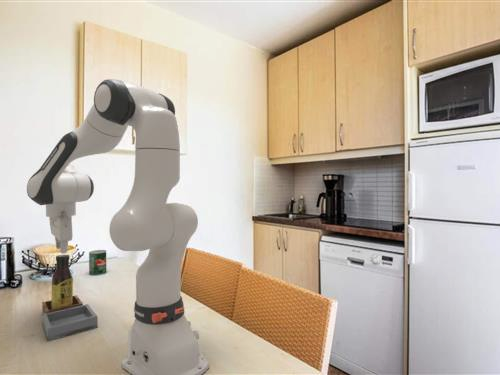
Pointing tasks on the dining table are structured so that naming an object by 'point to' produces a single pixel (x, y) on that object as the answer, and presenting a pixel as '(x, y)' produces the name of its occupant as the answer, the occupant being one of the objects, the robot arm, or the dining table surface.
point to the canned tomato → (97, 262)
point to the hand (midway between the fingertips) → (61, 250)
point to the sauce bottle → (62, 283)
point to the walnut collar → (47, 307)
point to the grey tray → (69, 321)
